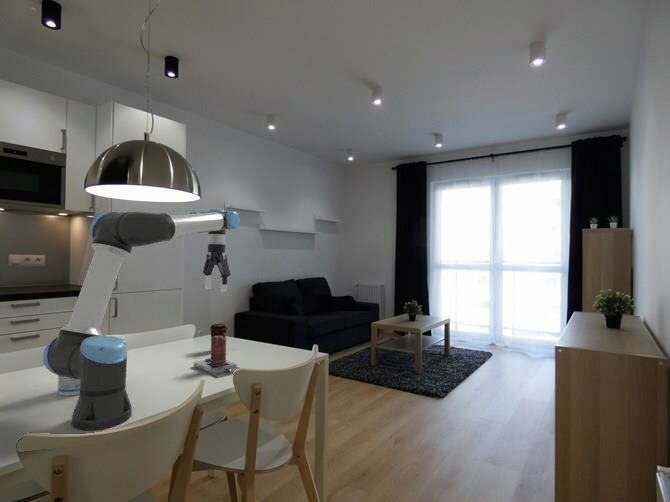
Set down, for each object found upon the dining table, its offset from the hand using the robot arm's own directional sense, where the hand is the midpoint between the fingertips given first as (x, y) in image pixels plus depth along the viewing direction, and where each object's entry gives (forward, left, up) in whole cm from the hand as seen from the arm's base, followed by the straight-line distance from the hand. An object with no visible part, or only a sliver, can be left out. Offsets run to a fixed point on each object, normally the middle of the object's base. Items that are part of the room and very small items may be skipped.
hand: (215, 290), depth 178 cm
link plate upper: (-5, -9, -32) cm, 34 cm away
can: (-5, -12, -32) cm, 35 cm away
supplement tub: (-55, -3, -32) cm, 64 cm away
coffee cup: (+11, +16, -32) cm, 38 cm away
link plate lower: (-5, -15, -32) cm, 35 cm away
